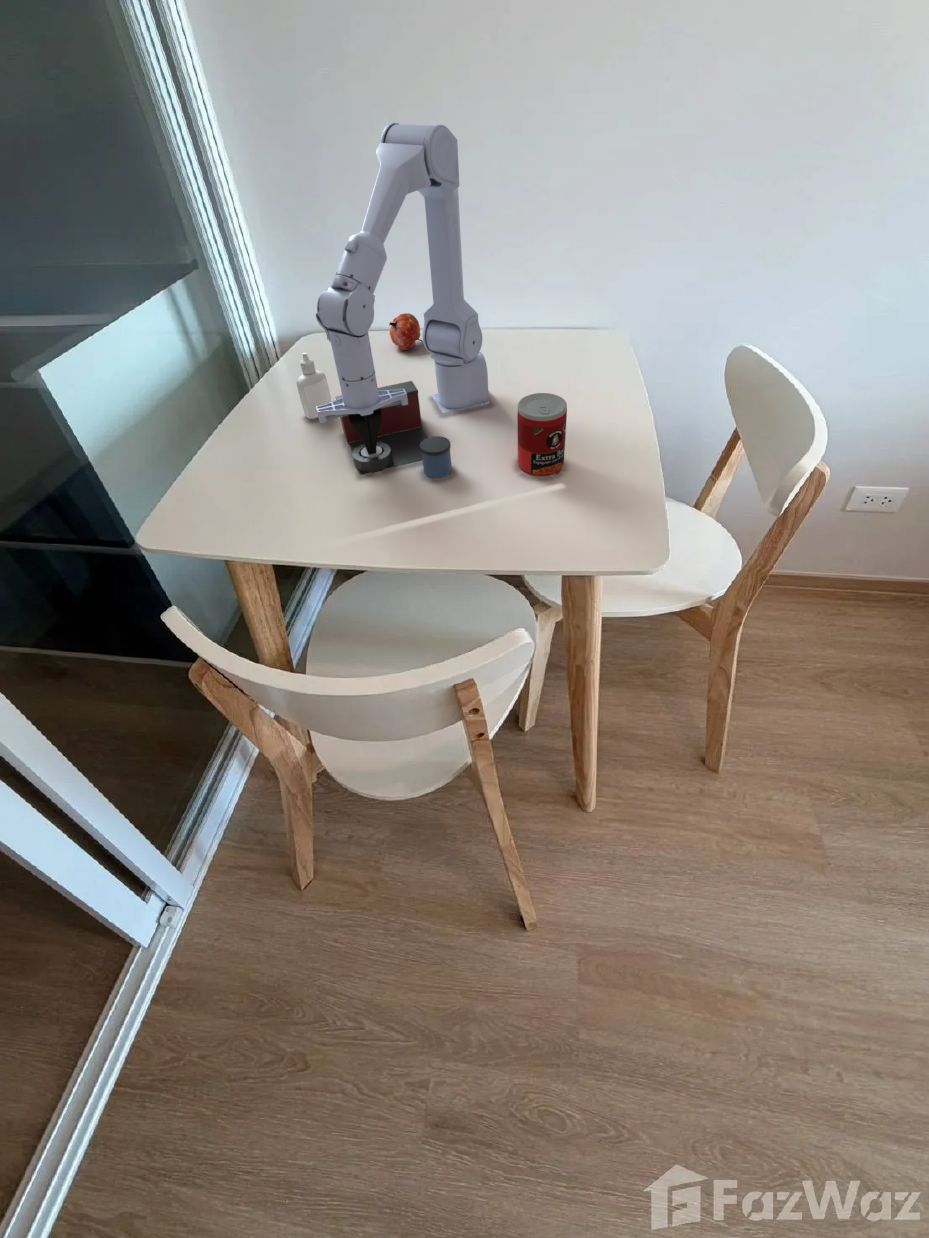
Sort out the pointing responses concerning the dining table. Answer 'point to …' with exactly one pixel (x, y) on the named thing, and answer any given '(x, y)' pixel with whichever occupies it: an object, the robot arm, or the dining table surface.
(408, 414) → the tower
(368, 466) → the dark grey drip tray
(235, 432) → the dining table surface
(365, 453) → the power button
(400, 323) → the pomegranate
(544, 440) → the canned food
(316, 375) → the eye dropper bottle
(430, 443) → the container
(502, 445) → the dining table surface
